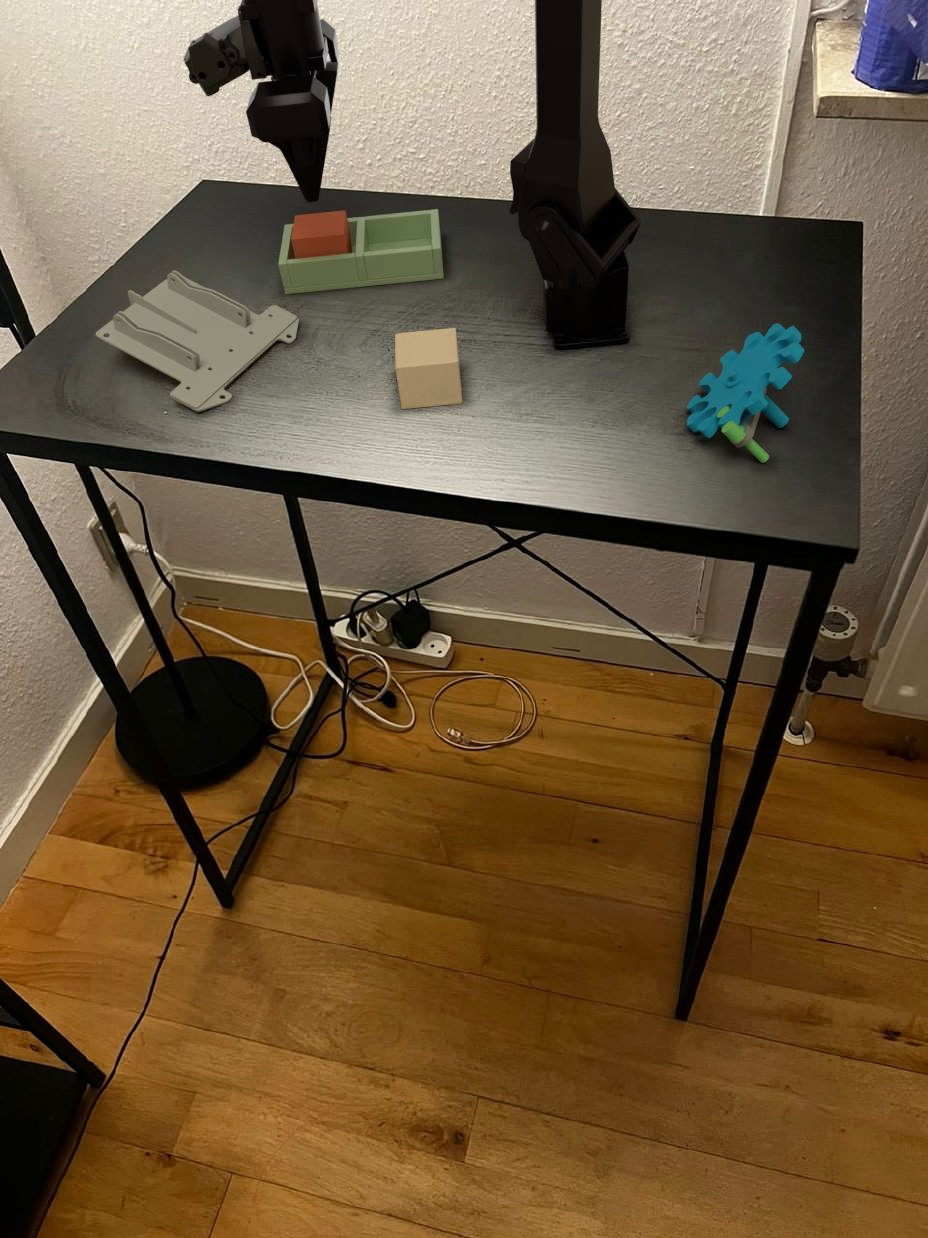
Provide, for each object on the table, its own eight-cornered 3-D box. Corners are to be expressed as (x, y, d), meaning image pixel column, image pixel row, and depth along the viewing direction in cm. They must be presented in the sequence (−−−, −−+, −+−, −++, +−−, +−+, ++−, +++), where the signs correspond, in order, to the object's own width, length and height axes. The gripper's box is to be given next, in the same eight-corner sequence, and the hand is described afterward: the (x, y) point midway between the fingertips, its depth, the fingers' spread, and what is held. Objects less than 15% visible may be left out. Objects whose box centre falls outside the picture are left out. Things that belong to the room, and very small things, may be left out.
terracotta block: (352, 248, 94) (345, 209, 92) (350, 273, 91) (343, 234, 88) (303, 253, 95) (294, 214, 92) (299, 278, 91) (291, 239, 88)
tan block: (459, 369, 80) (455, 327, 77) (462, 403, 77) (458, 361, 74) (401, 374, 80) (395, 333, 77) (401, 409, 77) (395, 367, 74)
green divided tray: (441, 238, 96) (437, 208, 93) (443, 278, 90) (440, 247, 88) (291, 253, 96) (284, 224, 94) (285, 294, 91) (278, 264, 88)
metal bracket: (66, 324, 78) (179, 241, 87) (77, 377, 83) (184, 293, 92) (208, 401, 77) (311, 308, 85) (212, 450, 81) (308, 358, 90)
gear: (698, 356, 75) (804, 294, 67) (745, 404, 78) (852, 349, 70) (662, 455, 70) (772, 399, 62) (713, 503, 72) (826, 455, 64)
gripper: (192, -44, 80) (240, 145, 92) (154, 27, 68) (214, 235, 79) (321, -59, 80) (353, 133, 92) (306, 9, 67) (345, 222, 79)
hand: (315, 178), depth 85 cm, fingers open, 9 cm apart
